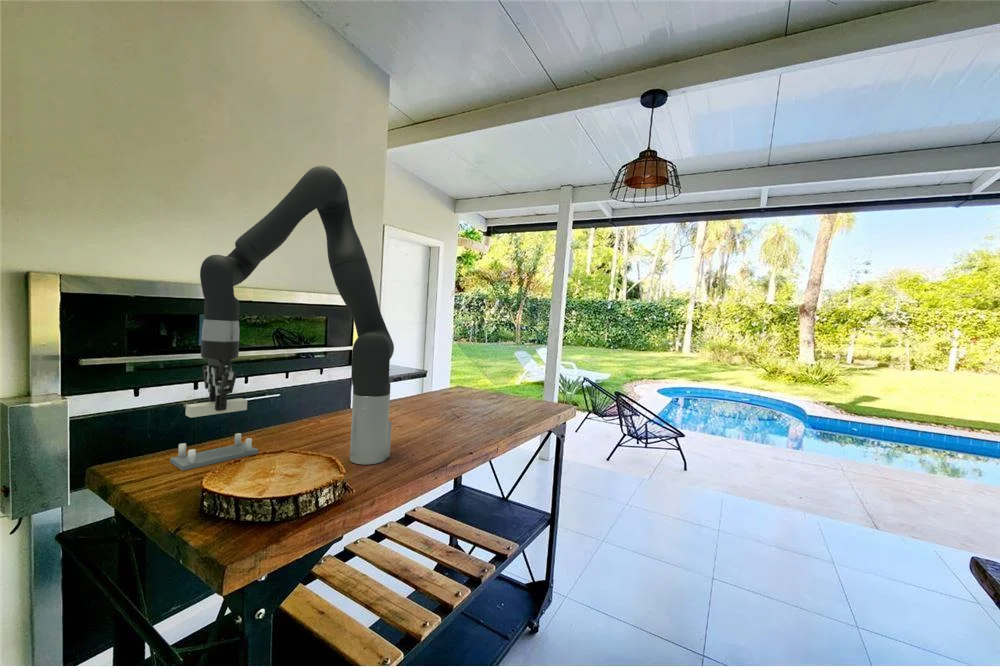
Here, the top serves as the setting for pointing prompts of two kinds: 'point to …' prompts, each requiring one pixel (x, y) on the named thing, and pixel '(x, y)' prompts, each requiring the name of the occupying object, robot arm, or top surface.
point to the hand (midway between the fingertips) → (217, 408)
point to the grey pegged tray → (212, 454)
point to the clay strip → (209, 408)
